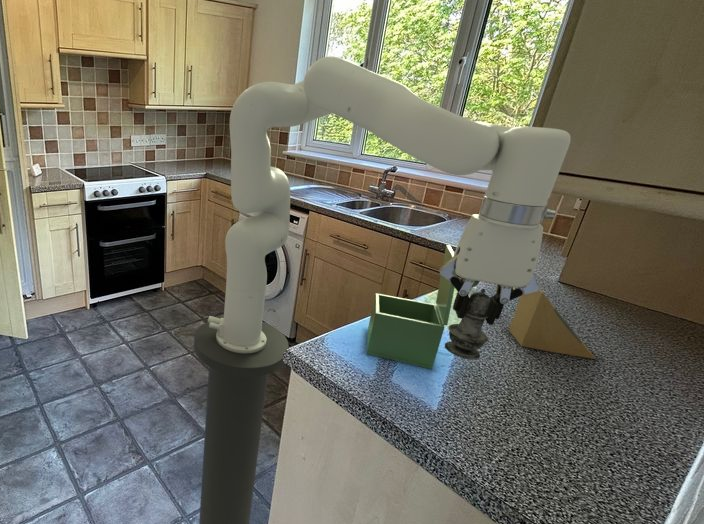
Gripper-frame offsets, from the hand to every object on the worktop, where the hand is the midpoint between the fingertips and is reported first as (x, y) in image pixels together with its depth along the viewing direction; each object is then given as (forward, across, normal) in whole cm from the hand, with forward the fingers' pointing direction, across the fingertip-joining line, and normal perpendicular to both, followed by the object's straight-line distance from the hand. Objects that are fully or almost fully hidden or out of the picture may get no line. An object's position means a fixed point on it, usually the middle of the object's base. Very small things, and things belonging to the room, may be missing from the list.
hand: (473, 316), depth 68 cm
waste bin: (+22, +6, -22) cm, 32 cm away
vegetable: (+22, -18, -72) cm, 78 cm away
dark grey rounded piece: (+7, 0, 0) cm, 7 cm away
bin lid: (+3, +1, -23) cm, 23 cm away
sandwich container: (+21, -30, -43) cm, 56 cm away
